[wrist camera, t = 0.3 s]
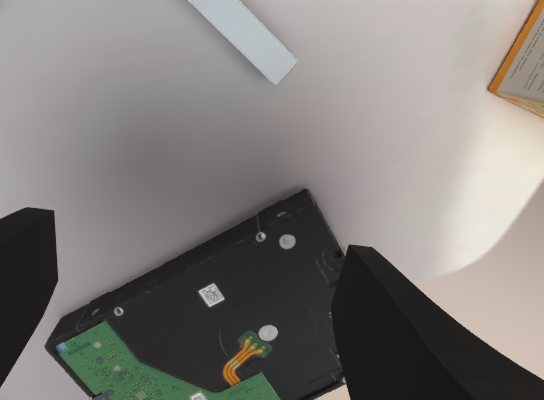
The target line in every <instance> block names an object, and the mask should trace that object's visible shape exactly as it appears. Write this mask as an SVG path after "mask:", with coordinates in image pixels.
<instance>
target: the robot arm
mask: <svg viewBox="0 0 544 400" xmlns="http://www.w3.org/2000/svg"><path fill="white" fill-rule="evenodd" d="M57 282H58V269H57V252H56V235H55V217H54V210H46V209H38V208H29V207H26V208H24V209H21V210H19V211H16V212H14V213H12V214H10V215H8V216H6V217H3V218H1V219H0V387H1V386H2V384H3V382H4V381H5V379H6V377H7V376H8V374H9V373H10V371H11V369H12V368H13V366H14V364H15V363H16V361H17V359H18V358H19V356H20V354H21V353H22V351H23V349H24V348H25V346H26V344H27V343H28V341H29V339H30V338H31V336H32V334H33V333H34V331H35V329H36V327H37V326H38V324H39V322H40V321H41V319H42V317H43V315H44V313H45V310H46V308H47V306H48V304H49V301H50V299H51V297H52V294H53V292H54V289H55V287H56V284H57ZM331 315H332V324H333V331H334V338H335V343H336V347H337V351H338V355H339V359H340V363H341V366H342V370H343V374H344V377H345V381H346V385H347V388H348V392H349V395H350V399H351V400H544V380H543V379H541V378H539V377H538V376H536V375H534V374H533V373H531V372H529V371H528V370H526V369H524V368H523V367H521V366H519V365H518V364H516V363H515V362H513V361H512V360H510V359H509V358H507V357H506V356H504V355H503V354H501V353H499V352H498V351H497V350H495V349H494V348H492V347H491V346H490V345H488V344H487V343H485V342H484V341H482V340H481V339H480V338H478V337H477V336H475V335H474V334H473V333H471V332H470V331H469V330H467V329H466V328H465V327H463V326H462V325H461V324H460V323H458V322H457V321H456V320H455V319H453V318H452V317H451V316H450V315H449V314H447V313H446V312H445V311H444V310H442V309H441V308H440V307H439V306H438V305H436V304H435V303H434V302H433V301H432V300H431V299H429V298H428V297H427V296H426V295H425V294H424V293H423V292H421V291H420V290H419V289H418V288H417V287H416V286H415V285H414V284H413V283H412V282H410V281H409V280H408V279H407V278H406V277H405V276H404V275H403V274H402V273H401V272H400V271H399V270H397V269H396V268H395V267H394V266H393V265H392V264H391V263H390V262H389V261H388V260H387V259H385V258H384V257H383V256H382V255H381V254H380V253H379V252H377V251H376V250H375V249H374V248H372V247H366V246H358V245H349V246H348V249H347V253H346V256H345V259H344V263H343V266H342V269H341V273H340V276H339V280H338V283H337V286H336V290H335V293H334V296H333V300H332V303H331Z"/></svg>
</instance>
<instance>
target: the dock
mask: <svg viewBox="0 0 544 400" xmlns="http://www.w3.org/2000/svg"><path fill="white" fill-rule="evenodd" d="M188 1H189V2H190V3H191V4H192V5H193V6H194V7H195V8H196V9H197V10H198V11H199V12H200V13H201V14H202V15H203V16H204V17H205V18H206V19H207V20H208V21H209V22H210V23H211V24H212V25H213V26H214V27H215V28H216V29H218V30H219V31H220V32H221V33H222V34H223V35H224V36H225V37H226V38H227V39H228V40H229V41H230V42H231V43H232V44H233V45H234V46H235V47H236V48H237V49H238V50H239V51H240V52H241V53H242V54H243V55H244V56H245V57H246V58H247V59H248V60H249V61H250V62H251V63H252V64H253V65H254V66H255V67H256V68H257V69H259V70H260V71H261V72H262V73H263V74H264V75H265V76H266V77H267V78H268V79H269V80H270V81H271V82H272V83H273V84H274V85H275V86H276V85H277V84H278V82H279V81H280V80H281V79H282V78H283V77H284V76H285V75H286V74H287V73H288V72H289V70H290V69H291V68H292V67H293V66H294V65H295V64H296V63H297V62H298V60H297V59H296V58H295V57H294V56H293V54H292V53H291V52H290V51H289V50H288V49H287V48H286V47H285V46H284V45H283V44H282V43H281V42H280V41H279V40H278V39H277V38H276V37H275V36H274V35H273V34H272V33H271V32H270V31H269V30H268V29H267V28H266V27H265V26H264V25H263V24H262V23H261V22H260V21H259V20H258V19H257V18H256V17H255V16H254V15H253V14H252V13H251V12H250V11H249V10H248V9H247V8H246V7H245V6H244V5H243V3H242V2H241V1H240V0H188Z"/></svg>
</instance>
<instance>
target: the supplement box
mask: <svg viewBox="0 0 544 400" xmlns="http://www.w3.org/2000/svg"><path fill="white" fill-rule="evenodd" d="M489 91H490V92H491V93H493V94H495V95H497V96H498V97H501V98H503V99H505V100H507V101H509V102H511V103H513V104H515V105H518V106H520V107H522V108H524V109H526V110H528V111H530V112H532V113H534V114H536V115H539V116H541V117H543V118H544V0H539V2H538V4H537V6H536V7H535V9H534V11H533V13H532V15H531V16H530V18H529V20H528V22H527V23H526V24H525V26H524V28H523V30H522V32H521V33H520V34H519V37H518V38H517V40H516V42H515V44H514V45H513V47H512V49H511V51H510V53H509V54H508V56H507V58H506V60H505V61H504V63H503V65H502V67H501V68H500V70H499V72H498V74H497V75H496V77H495V78H494V80H493V82H492V84H491V86H490V87H489Z"/></svg>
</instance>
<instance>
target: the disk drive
mask: <svg viewBox="0 0 544 400" xmlns="http://www.w3.org/2000/svg"><path fill="white" fill-rule="evenodd" d="M344 259H345V256H344V254H343V252H342V250H341V248H340V246H339V245H338V243H337V241H336V239H335V237H334V235H333V234H332V232H331V230H330V228H329V226H328V224H327V222H326V221H325V219H324V217H323V215H322V213H321V211H320V209H319V208H318V206H317V204H316V202H315V200H314V198H313V197H312V195H311V193H310V191H309V190H308V189H303V190H302V191H301V192H299V193H296V194H295V195H293V196H292V197H289V198H287V199H286V200H281V201H279V202H277V203H276V204H274V205H272V206H270V207H267V208H266V209H264V210H262V211H261V212H259V213H258V214H257V215H256V216H254V217H252V218H250V219H248V220H246V221H244V222H242V223H240V224H239V225H237V226H235V227H234V228H231V229H229V230H227V231H225V232H224V233H222V234H220V235H218V236H216V237H214V238H213V239H211V240H209V241H207V242H205V243H203V244H201V245H199V246H197V247H196V248H194V249H192V250H190V251H188V252H185V253H184V254H182V255H180V256H178V257H177V258H175V259H173V260H171V261H169V262H167V263H165V264H163V265H162V266H160V267H159V268H156V269H154V270H152V271H150V272H149V273H146V274H145V275H143V276H141V277H139V278H137V279H135V280H133V281H131V282H129V283H127V284H125V285H124V286H122V287H120V288H118V289H116V290H114V291H112V292H108V293H106V294H104V295H101V296H100V297H99V298H96V299H95V300H93V301H91V302H90V303H89V304H87V305H85V306H83V307H81V308H80V309H78V310H76V311H74V312H72V313H69V314H68V315H66V316H64V317H63V318H61V319H60V321H59V323H58V324H57V325H56V327H55V328H54V330H53V332H52V333H51V335H50V337H49V338H48V340H47V342H46V344H45V346H44V347H45V349H46V350H47V352H48V353H49V354H50V355H51V356H52V357H53V358H54V359H55V360H56V361H57V362H58V364H59V365H60V366H61V367H62V368H63V369H64V370H65V371H66V372H67V374H69V376H70V377H71V378H72V379H73V380H74V381H75V382H76V383H77V385H78V386H79V387H80V388H81V389H82V390H83V391H84V392H85V393H86V394H87V396H89V397H92V400H314V399H316V398H318V397H320V396H322V395H324V394H326V393H328V392H331V391H332V390H335V389H337V388H339V387H341V386H343V385H345V384H346V381H345V377H344V374H343V370H342V366H341V363H340V359H339V355H338V351H337V347H336V343H335V338H334V331H333V324H332V315H331V303H332V300H333V296H334V293H335V290H336V286H337V283H338V280H339V276H340V273H341V269H342V266H343V263H344Z"/></svg>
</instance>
